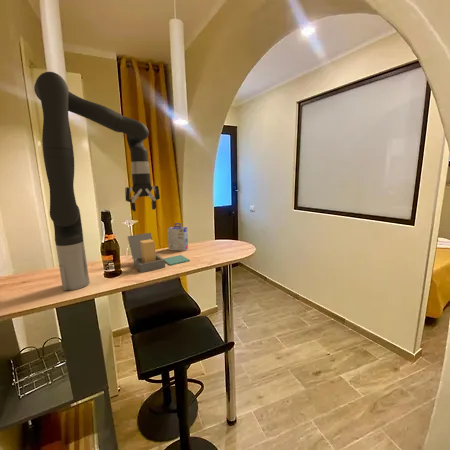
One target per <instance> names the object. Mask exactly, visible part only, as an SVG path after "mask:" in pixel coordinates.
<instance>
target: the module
mask: <svg viewBox="0 0 450 450" xmlns="http://www.w3.org/2000/svg"><path fill="white" fill-rule="evenodd" d="M140 247H141V257H142V264H144V263H148V262H153V261H156V254H157V252H156V253H155V251H156V243H155V241H154V240H153V239H152V240H151V239H149V240H143V241H140Z"/></svg>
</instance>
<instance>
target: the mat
mask: <svg viewBox="0 0 450 450" xmlns="http://www.w3.org/2000/svg"><path fill="white" fill-rule="evenodd" d="M163 259H165V264H168V265H169V266H174V265H177V264H178V265H180V264H183V263H187V262H191V259H189V258H188V257H186V256H184V255H182V254H179V255H173V256H169V257H165V258H164V257H163Z"/></svg>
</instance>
